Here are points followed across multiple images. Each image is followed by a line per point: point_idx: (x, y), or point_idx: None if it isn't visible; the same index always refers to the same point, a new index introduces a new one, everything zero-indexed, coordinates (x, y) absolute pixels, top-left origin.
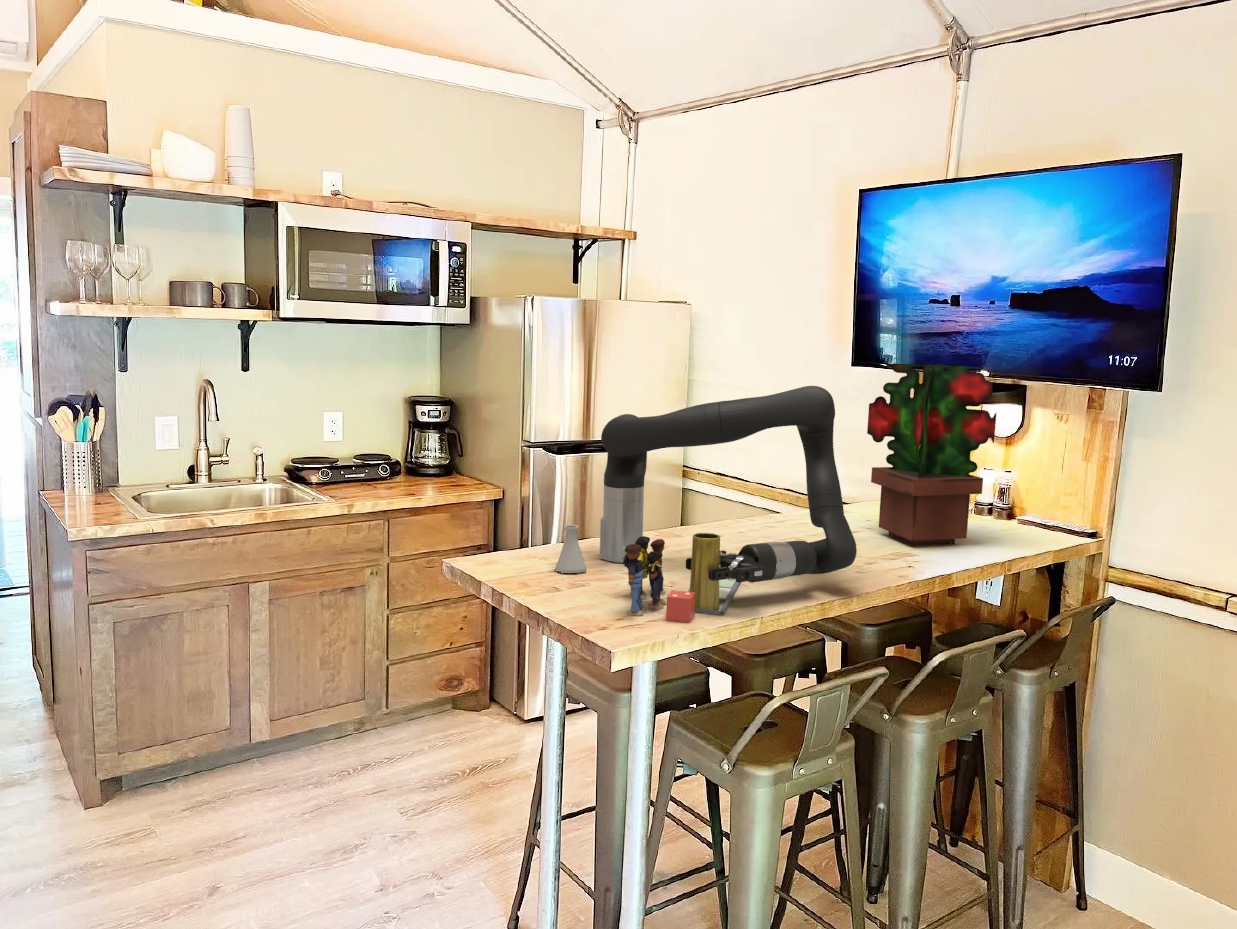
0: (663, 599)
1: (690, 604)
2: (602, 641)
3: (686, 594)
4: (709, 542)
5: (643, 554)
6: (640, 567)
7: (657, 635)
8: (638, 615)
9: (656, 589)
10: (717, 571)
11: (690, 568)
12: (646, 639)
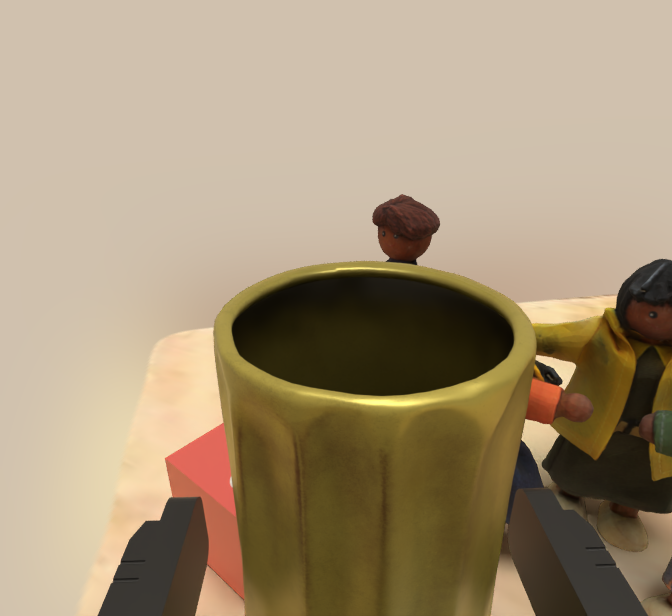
0: None
1: (170, 477)
2: (211, 332)
3: None
4: (240, 332)
5: (602, 338)
6: None
7: (158, 413)
8: None
9: None
10: (146, 544)
11: (515, 558)
12: (155, 386)
